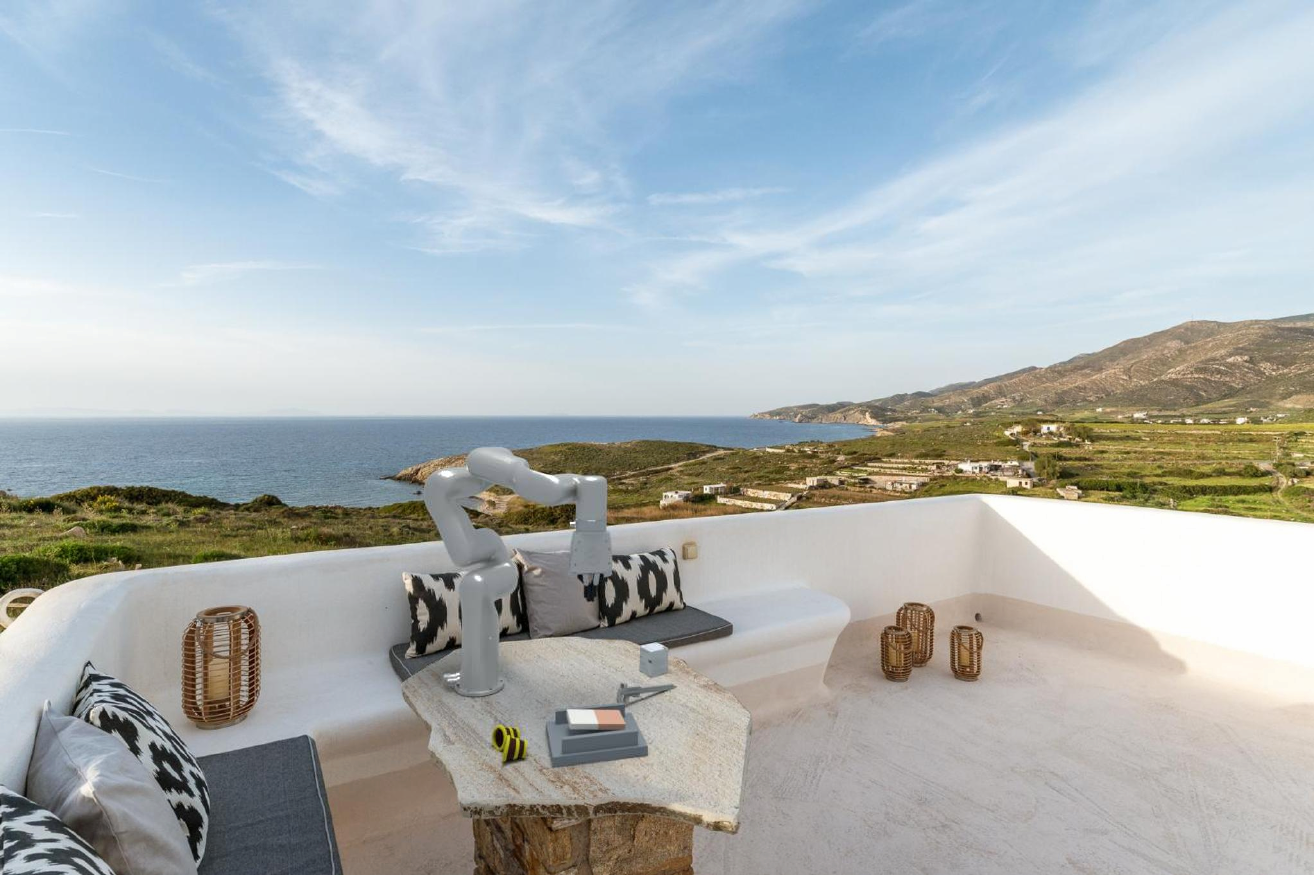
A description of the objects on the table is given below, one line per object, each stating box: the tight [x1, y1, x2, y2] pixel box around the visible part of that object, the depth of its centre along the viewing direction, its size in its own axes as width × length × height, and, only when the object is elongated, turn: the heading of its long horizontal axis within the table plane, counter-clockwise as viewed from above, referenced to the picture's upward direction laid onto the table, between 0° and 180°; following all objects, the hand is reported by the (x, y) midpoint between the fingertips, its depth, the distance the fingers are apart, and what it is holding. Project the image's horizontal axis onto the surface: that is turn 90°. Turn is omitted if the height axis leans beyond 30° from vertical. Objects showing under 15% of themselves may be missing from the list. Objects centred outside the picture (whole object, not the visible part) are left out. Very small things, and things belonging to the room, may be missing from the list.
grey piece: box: [545, 701, 649, 768], centre depth 135 cm, size 20×16×5 cm
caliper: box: [615, 682, 677, 708], centre depth 159 cm, size 20×1×6 cm, turn 133°
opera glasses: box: [491, 724, 528, 763], centre depth 130 cm, size 10×5×5 cm, turn 30°
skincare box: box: [638, 642, 669, 678], centre depth 176 cm, size 6×6×7 cm
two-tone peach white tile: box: [566, 709, 626, 730], centre depth 135 cm, size 12×7×1 cm, turn 105°
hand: (590, 600), depth 151 cm, fingers closed
